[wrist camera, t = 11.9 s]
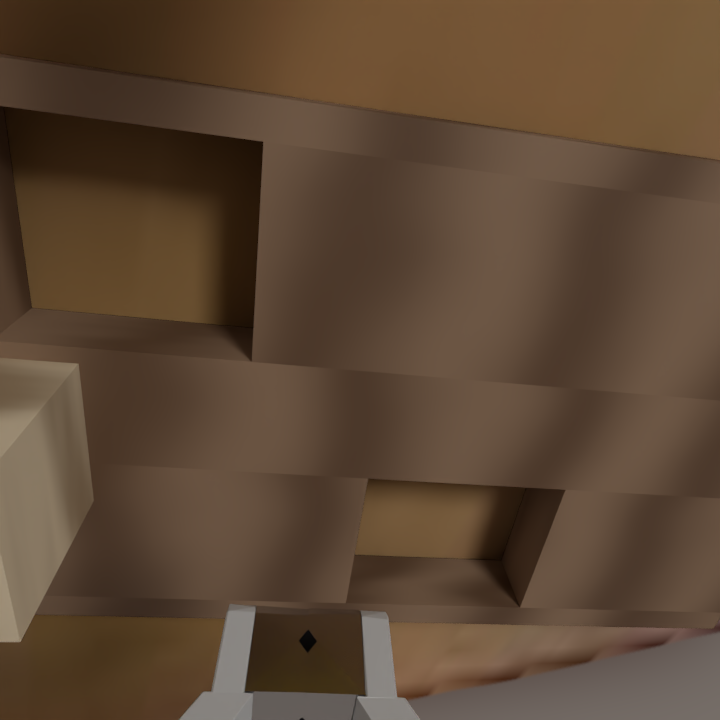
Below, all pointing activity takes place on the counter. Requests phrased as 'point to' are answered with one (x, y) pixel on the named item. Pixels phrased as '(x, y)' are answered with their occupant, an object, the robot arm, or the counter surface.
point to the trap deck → (400, 371)
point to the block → (38, 482)
